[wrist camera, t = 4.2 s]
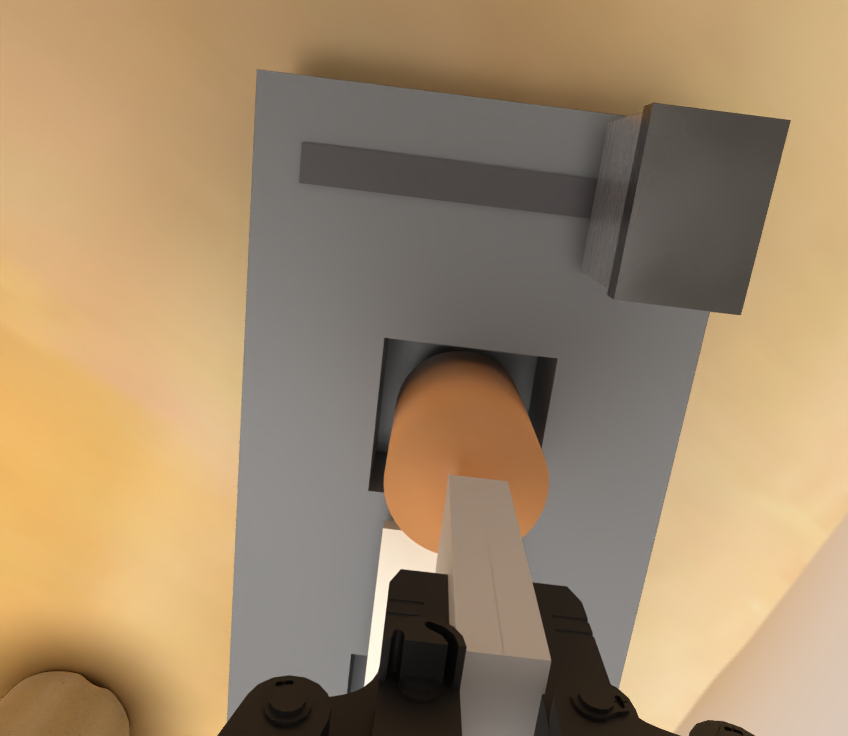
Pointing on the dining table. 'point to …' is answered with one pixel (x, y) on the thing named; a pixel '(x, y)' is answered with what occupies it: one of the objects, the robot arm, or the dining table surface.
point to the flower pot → (61, 708)
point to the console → (423, 338)
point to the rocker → (393, 557)
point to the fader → (682, 206)
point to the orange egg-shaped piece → (460, 442)
